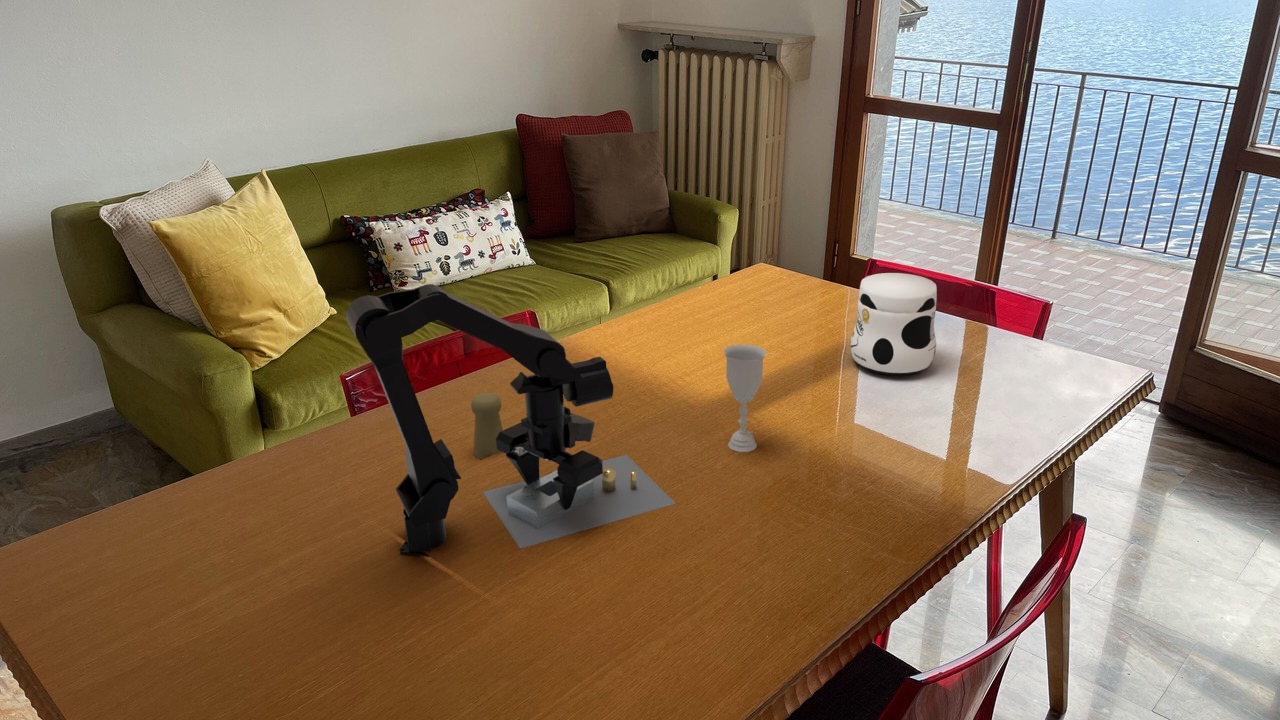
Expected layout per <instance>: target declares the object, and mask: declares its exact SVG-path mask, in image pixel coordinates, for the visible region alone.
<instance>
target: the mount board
mask: <svg viewBox="0 0 1280 720" xmlns="http://www.w3.org/2000/svg"><path fill="white" fill-rule="evenodd" d="M602 464H603V468H604V467H613V468H615V482H616V490H615V491H614V492H611V493H606V492H603V490H602V474H601V475H599V476H597V477H595V478H593V479H591V480H592V481H593V486H594V498H592V499H590V500H588V501H586V502H585V503H583V504H581V505H579V506H578V507H576V508H574V509H572V510H571V511H569V512H567V513H565V514H564V515H562V516H560V517H558V518H556V519H555V520H553V521H551V522H549V523H548V524H546V525H544V526H542V527H541V528H539V529H537V528H535V527H533V526H532V525H530V524H528V523H526V522H524V521H522V520H521V519H519V518H517V517H515V516H513V515H512V514H510V513H508V506H507V496H508V495H510V494H512V493H514V492H515V491H517V490H519V489H521V488H523V487H525V486H527V484H526V482H525V481H524V480H523V481H520V482H516V483H512V484H509V485H504V486H501V487H498V488H497V487H496V488H493V489H489V490H486V491H482V494H483V495H484V497H485V498H486V500H487V501H488V503H489V504H490V506H491V507H492V509H493V511H494V512H495V513H496V514H497V516H498V518H499V519H500V521H501V522H502V524H503V526H504V527H505V528H506V530H507V531H508V533H509V535H511V538H512V539H513V540H514V542H515V543H516V545H517V546H518V547H519V550H521V549H525V548H529V547H531V546H535V545H539V544H542V543H546V542H549V541H552V540H555V539H560V538H562V537H566V536H570V535H574V534H576V533H580V532H583V531H586V530H590V529H594V528H596V527H597V528H598V527H600V526H604V525H607V524H610V523H614V522H618V521H622V520H625V519H628V518H631V517H635V516H639V515H643V514H646V513H649V512H652V511H656V510H660V509H663V508H666V507H667V508H668V507H670V506H673V505H676V504H677V503H676V501H674V500H673V499H672V498H671V497H670V496H669V495H668V494H667V493H666V492H665V491H664V490H663V489H661V487H660V486H659V485H658V484H657V483H656V482H655V481H654V480H653V479H651V477H649V475H647V473H645V472H644V470H643V469H641V468H640V466H638V465H637V464H636V463H635V461H634V460H632V458H631V457H629V455H628V454H624V455H621V456H616V457H612V458H609V459H604V460H602ZM630 471H636V483H637V489H635V490H631V488H630ZM544 476H545V475H543V476H539V479H540V478H542V477H544Z"/></svg>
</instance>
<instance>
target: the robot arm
mask: <svg viewBox="0 0 1280 720" xmlns="http://www.w3.org/2000/svg"><path fill="white" fill-rule="evenodd" d="M345 317H346V323H347V325H348V326H349V328H350V330H351V331H352V333H353V334H354V336H355V338H356V340H357V342H358V344H359V345H360V346H361V348H362V349H363V351H364V352H365V355H366V356H367V357H368V358H369V360H370V362H371V363H372V365H373V366H374V370H375V371H376V373H377V376H378V379H379V381H380V384H381V387H382V388H383V392H384V394H385V397H386V399H387V401H388V404H389V407H390V409H391V410H390V411H391V412H392V415H393V417H394V419H395V422H396V425H397V428H398V430H399V432H400V435H401V437H402V439H403V443H404V445H405V463H406V468H407V474H406V475H405V477H404V478H403V479H402V481H401V482H399V484H398V485H397V486H396V488H395V492H396V494H397V496H398V498H399V500H400V502H401V504H402V506H403V519H404V527H405V533H406V540H405V541H404V542H403V543H402V545H401V547H400V548H399V550H398V552H399V554H400V555H406V556H407V555H408V556H416V557H417V556H418V557H429V558H430V557H431V555H429V554H428V553H429V552H431V550H432V549H435V548H437V547H440V546H441V545H443V543H444V542H446V539H447V531H446V524H445V523H446V522H445V519H446V518H447V515H448V511H449V508H450V505H451V501H452V500H453V499H454V498H455V496H456V495H457V493H458V492H459V481H458V480H461V479H462V477H461V475H460V474H459V472H458V471H457V469H456V465H455V460H454V456H453V454H452V452H451V451H450V450H449V448H448V447H447V445H446V444H445V442H444V440H443V439H442V438H440V439H438V440H437V441H435V442H434V441H433V438H432V437H433V436H432V435H431V432H430V430H429V428H428V424H427V421H426V420H425V419H426V418H425V416H424V414H423V411H422V409H421V406H420V403H419V401H418V398H417V395H416V392H415V389H414V386H413V384H412V382H411V379H410V377H409V374H408V371H407V368H406V366H405V363H404V350H403V349H404V348H403V339H402V338H404V337H408V336H411V335H412V334H414V333H415V332H418V330H420V329H422V328H423V327H425V326H426V325H428V324H430V323H432V322H435V321H438V322H441V323H443V324H445V325H447V326H450V327H452V328H454V329H456V330H458V331H460V332H463V333H465V334H467V335H469V336H471V337H473V338H475V339H477V340H480V341H481V342H484V343H487V345H491V346H493V347H495V348H497V349H499V350H501V351H503V352H505V353H506V354H507V355H508V356H510V357H511V358H513V359H514V360H515V361H517V362H518V363H519V364H520V365H521V366H523V368H526V369H527V370H528V371H529V372H531V373H533V374H530V375H527V374H525V373H524V372H522V371H520V372H519V373H518V375H517V376H516V377H515V378H513V380H511V381H510V383H509V385H510V386H511V388H512V390H514V391H515V392H516V393H517V394H518V395H523V394H524V396H525V410H526V412H525V413H526V417H524V418H521V420H520V421H521V422H519V423H517V424H515V425H512V426H510V427H508V428H506V429H503V431H501V432H500V433H499V434H498V436H497V438H496V446H497V450H499V451H501V452H500V453H503V454H505V457H506V458H507V459H508V460H509V461H510V462H511V464H512V465H513V467H514V468H515V469H516V470H517V472H518V474H519V475H520V476H521V478H522V479H523V481H525V482H526V484H527V485H529V484H531V483H533V482H535V481H537V480H539V477H540V459H542V460H544V461H546V462H550V461H551V462H554V463H555V464H558V466H557V468H556V470H557V473H558V476H557V477H555V478H553V481H554V484H555V487H556V489H557V492H558V495H559V498H560V501H561V504H562V506H563V508H564V509H565V510H567V509H569V508H570V507H571V504H572V501H573V499H574V496H575V493H576V490H577V487H578V486H580V485H582V484H584V483H586V482H588V481H590V480H591V479H593V478H595V477H597V476H599V475H601V474H602V473H603V464H602V461H603V459H602V458H600V456H599V457H598V456H596V455H594V454H592V453H590V452H588V451H586V450H583V449H582V450H580V451H578V452H576V453H574V454H571V453H569V451H566V449H572V448H574V447H575V446H576V442H587V443H590V442H592V438H593V432H594V429H595V423H596V422H595V421H593V420H591V419H589V418H587V417H584V416H582V415H579V414H575V413H573V412H571V409H570V408H569V407H567V406H565V403H564V402H565V401H566V402H569V403H570V402H571V404H572V405H573V406H574V407H581V406H585V405H589V404H594V403H598V402H602V401H607V400H610V399H612V398H613V396H614V383H613V382H612V377H611V374H610V372H609V370H608V368H607V361H606V360H605V358H603V357H601V356H596V357H595V356H594V357H592V358H590V359H588V360H582V361H578V362H573V363H571V361H570V360H568V359H567V353H566V348H565V347H564V346H563V345H562V344H561V343H560V342H559V341H557V340H556V339H555V338H554V337H553V336H552V335H551V334H550V333H548V331H546V330H544V329H542V328H538V327H535V326H531V325H528V324H523V323H522V324H521V323H514V322H510V321H507V320H505V319H504V318H503V319H502V318H500V317H498V316H496V315H495V314H493V313H490V312H488V311H486V310H485V309H482V308H481V307H478V306H476V305H474V304H472V303H470V302H468V301H467V300H466V301H465V300H464V299H462V298H460V297H457V296H455V295H453V294H452V293H449V292H447V291H445V290H443V289H442V287H440V286H439V285H437V284H433V283H430V284H428V283H427V284H424V285H421V286H418V287H415V288H411V289H405V290H404V289H402V290H396V291H390V292H385V293H384V294H380V295H377V296H375V295H369V294H368V295H367V294H366V295H363V296H360V297H358V298H356V299H354V300H353V301H352V302H351V303H350V305H349V306H348V308H347V310H346V313H345ZM564 399H565V401H564ZM426 552H427V553H426Z"/></svg>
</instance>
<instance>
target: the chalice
mask: <svg viewBox="0 0 1280 720" xmlns="http://www.w3.org/2000/svg"><path fill="white" fill-rule="evenodd" d="M723 352H724V353H723V354H724V356H725V358H726V372H725V373H726V374H725V375H726V380H727V383H728V386H729V389H730V391H731V392H732V395H733V397H734V398H735V400H736V401H737V402H739V403H740V408H739V410H738V412H739V414H740V417H739V419H738V420H737V422H738V423H739V429H738V430H737V431H735V432H734V433H733V434H732V435H731V438H730V441H729V442H728V443H727V445H728V448H729V449H730V450H733V451H736V452H740V453H747V452H748V453H749V452H753V451H755V449H756V448H757V446H758V444H757V443H756V441H755V438H754V435H753V434H752V433H751V431H749V430H747V429H746V428H747V424H748V422H749V420H748V419H747V414H748V413H749V410H748V409H747V403H750V402H751V401H753V399H754V397H755V396H756V394H757V391H758V390H759V388H760V386H761V384H762V381H763V372H764V371H763V369H764V358H765V357H766V355H767V352H766V349H764V348H762V347H760V346H756V345H752V344H733V345H730V346H727V347H726V348H724V350H723Z"/></svg>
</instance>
